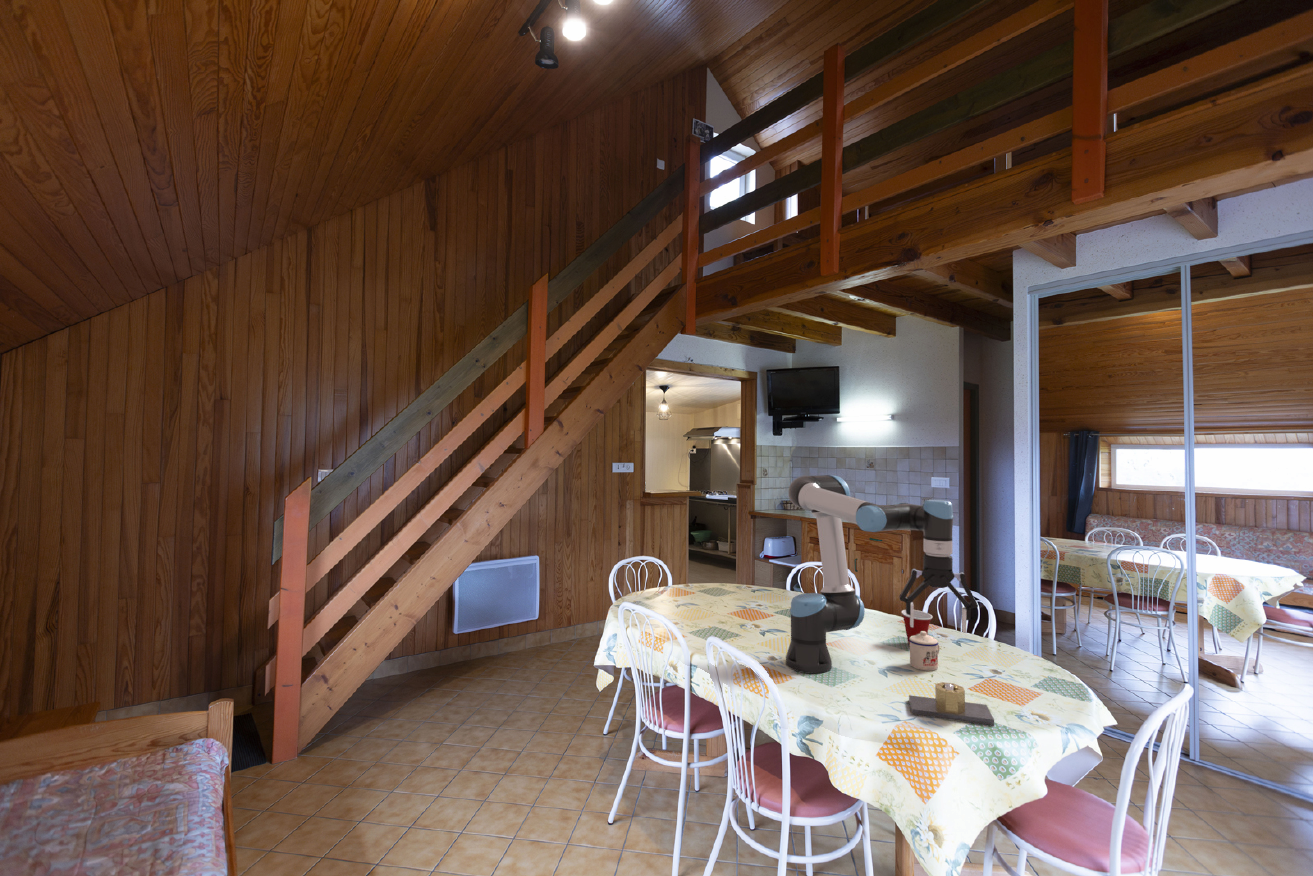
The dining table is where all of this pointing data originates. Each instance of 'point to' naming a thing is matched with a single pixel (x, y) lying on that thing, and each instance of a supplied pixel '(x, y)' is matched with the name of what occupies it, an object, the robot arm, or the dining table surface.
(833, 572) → the robot arm
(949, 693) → the ring
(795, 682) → the dining table surface
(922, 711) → the shaft stand
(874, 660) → the dining table surface
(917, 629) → the plastic cup
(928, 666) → the teacup with lid
